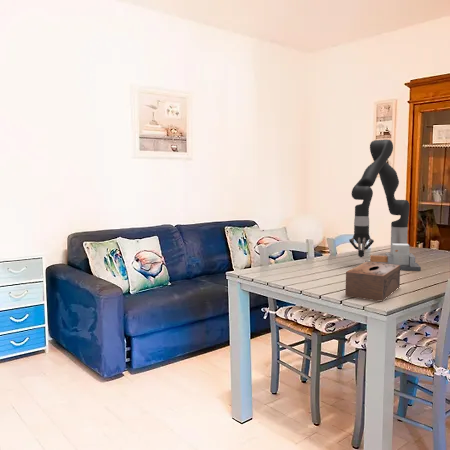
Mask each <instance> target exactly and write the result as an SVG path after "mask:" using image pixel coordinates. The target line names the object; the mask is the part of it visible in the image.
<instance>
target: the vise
mask: <svg viewBox="0 0 450 450" xmlns="http://www.w3.org/2000/svg"><path fill="white" fill-rule="evenodd" d="M365 262H370V260H365V261H364V263H365ZM374 263H384V264H386V262H374ZM421 268H422V267H421V266H420V264H419V263H418V262H416V256H415V255H414V253H412V252H409V265H400V271H405V272H406V271H408V272H409V271H411V272H412V271H413V272H421V270H422V269H421Z"/></svg>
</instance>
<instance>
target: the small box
mask: <svg viewBox="0 0 450 450" xmlns="http://www.w3.org/2000/svg"><path fill="white" fill-rule="evenodd" d="M390 249H391V254H392V256H393V264H394V265H409V253H410V244H409V243H407V244H395V243H392V245H391V244H390Z"/></svg>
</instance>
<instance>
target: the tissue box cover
mask: <svg viewBox="0 0 450 450" xmlns="http://www.w3.org/2000/svg"><path fill="white" fill-rule="evenodd" d="M400 280H401V270H400V265H394V264H384V263H374V262H365V261H364V262H363V263H361V264H359V265H357V266H355V267H353V268H350V269H349V270H346V271H345V297H350V298H357V299H363V298H365V300H370V299H373V300H372V301H377V300H382V301H381V302H384V301H385V300H386V299H387V298H388V296H389V295H390V294H391V293H392V292H393V293H395V292H396V291H397V290H398V289H400V288H399V287H400V286H401V281H400ZM397 288H398V289H397ZM396 289H397V290H396ZM395 290H396V291H395ZM394 291H395V292H394ZM393 293H392V294H393ZM392 294H391V295H392ZM391 295H390V296H391ZM390 296H389V297H390ZM386 297H387V298H386ZM385 298H386V299H385ZM384 299H385V300H384ZM383 300H384V301H383Z"/></svg>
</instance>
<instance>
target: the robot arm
mask: <svg viewBox="0 0 450 450" xmlns="http://www.w3.org/2000/svg"><path fill="white" fill-rule="evenodd" d="M392 141H393V140H390V139H375V140H372V141H371V142H370V143H369V150H370V151H369V152H370V154H371V157H372V159H373V162H371V163H370V164H369V165H368V166H367V167H366V169H364V172H363V174H362V176H361V178H360V179H359V181H357V183H356V184H355V185H354V187H352V189H351V197H352V198H353V200H357V201H359V200H360V201H362V203H360V204H356V205H355V206H354V221H353V236H352V237H351V238H349V239H348V240H349V243H350V244H351V245H352V246H353V248H354V249H355V250H358V253H357V254H358V255H357V256H358V257H359V258H364V256H365V251H367V250H368V249H369V248H370V247H371V246H372V244H374V242H375V241H374V239H372V238H371V236H370V216H369V215H370V206H371V201H372V199H373V196H374V195H373V193H374V192H373V189H372V187H373V186H374V185H375V182H376V181H377V178H378V177H379V178H380V182H381V185H382V187H383V191H384V194H385V198H386V203H387V207H388V212H389V214H390V215H393V216H400V217H399V219H397V220H393V221H391V224H390V246H391V245H392V243H395V244H408V230H409V225H408V224H409V220H410V219H409V216H410V201H409V200H407V199H396V198H395V193H396V191H397V189H398V187H399V184H400V180H399V177H398V173H397V171H396V170H395V168H394V167H392V166H391V164H390V163H388V162H387V161H388V160H389V158H390V157H391V156H392V154H393V151H394V144H393V142H392ZM367 242H368V243H367ZM356 243H357V244H356ZM389 251H390V252H389V253H391V248H390V250H389Z"/></svg>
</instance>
